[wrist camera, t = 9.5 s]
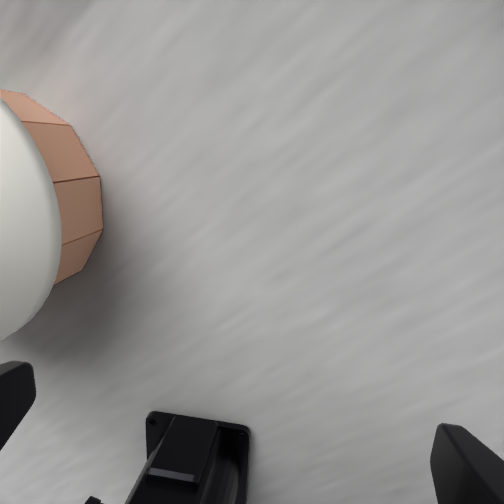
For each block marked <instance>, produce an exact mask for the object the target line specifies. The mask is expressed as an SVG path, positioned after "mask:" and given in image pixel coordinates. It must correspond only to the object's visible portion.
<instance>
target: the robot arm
mask: <svg viewBox="0 0 504 504" xmlns="http://www.w3.org/2000/svg"><path fill="white" fill-rule="evenodd" d="M35 398H36V387H35V379H34V371H33V367H32V365H31V364H30V363H27V362H21V361H10V362H7V363H4V364H0V451H1V449H2V448H3V446H4V445H5V443H6V442H7V441H8V439H9V438H10V436H11V435H12V433H13V432H14V431H15V429H16V428H17V426H18V425H19V423H20V422H21V421H22V419H23V418H24V416H25V415H26V413H27V412H28V411H29V409H30V408H31V406H32V405H33V403H34V401H35ZM153 419H155V420H156V421H154V420H153ZM239 433H242V434H244V435H240V434H239ZM146 446H147V462H146V464H145V466H144V468H143V470H142V472H141V474H140V475H139V477H138V479H137V481H136V483H135V485H134V487H133V489H132V490H131V492H130V494H129V496H128V498H127V500H126V502H125V504H247V486H248V469H249V451H250V430H249V428H248V427H247V426H244V425H240V424H233V423H227V422H221V421H214V420H208V419H202V418H195V417H189V416H183V415H176V414H170V413H163V412H157V411H152V412H150V413H149V415H148V416H147V418H146ZM430 465H431V472H432V477H433V481H434V486H435V491H436V496H437V501H438V504H504V460H502V459H501V458H500V457H499V456H498V455H496V454H495V453H494V452H493V451H491V450H490V449H489V448H488V447H487V446H485V445H484V444H483V443H482V442H481V441H479V440H478V439H477V438H476V437H475V436H473V435H472V434H471V433H470V432H469V431H467V430H466V429H465V428H463V427H462V426H459V425H453V424H446V423H441V424H439V425H438V427H437V430H436V434H435V438H434V443H433V447H432V452H431V457H430ZM85 504H103V503H101V500H99V499H97V498H95V497H92V496H90V497H89V499H88V500H87V501H86V502H85Z"/></svg>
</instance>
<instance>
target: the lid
mask: <svg viewBox="0 0 504 504" xmlns="http://www.w3.org/2000/svg"><path fill="white" fill-rule="evenodd" d="M61 245H62V235H61V219H60V212H59V206H58V201H57V197H56V193H55V190H54V186H53V182H52V179H51V177H50V174H49V172H48V169H47V167H46V164H45V162H44V159H43V157H42V155H41V154H40V152H39V150H38V148H37V146H36V144H35V142H34V140H33V138H32V137H31V135H30V134H29V132H28V131H27V129H26V128H25V126H24V125H23V123H22V122H21V120H20V119H19V118H18V117H17V115H16V114H15V113H14V112H13V111H12V109H11V108H10V107H9V106H8V105H7V103H6V102H5V101H4V100H3V99H2V98H1V97H0V341H1V340H3V339H4V338H6V337H8V336H9V335H11V334H12V333H14V332H16V331H17V330H19V329H20V328H22V327H23V326H24V325H25V324H26V323H28V322H29V321H30V320H31V319H32V318H33V317H34V316H35V315H36V313H37V312H38V311H39V310H40V309H41V308H42V306H43V304H44V303H45V301H46V299H47V298H48V296H49V294H50V292H51V289H52V287H53V284H54V282H55V279H56V276H57V272H58V267H59V263H60V255H61Z"/></svg>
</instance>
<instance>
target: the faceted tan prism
mask: <svg viewBox="0 0 504 504" xmlns="http://www.w3.org/2000/svg"><path fill="white" fill-rule="evenodd" d="M0 97H1V98H2V99H3V100H4V101H5V102H6V103H7V105H8V106H9V107H10V108H11V109H12V111H13V112H14V113H15V114H16V115H17V117H18V118H19V119H20V120H21V122H22V123H23V125H24V126H25V128H26V129H27V131H28V132H29V134H30V135H31V137H32V138H33V140H34V142H35V144H36V146H37V148H38V150H39V152H40V154H41V155H42V157H43V159H44V162H45V164H46V167H47V169H48V172H49V174H50V177H51V179H52V182H53V186H54V190H55V193H56V197H57V201H58V206H59V212H60V219H61V235H62V245H61V255H60V263H59V267H58V272H57V276H56V279H55V282H54V284H53V285H55V284H57V283H58V282H60V281H62V280H64V279H66V278H68V277H70V276H72V275H73V274H75V273H77V272H79V271H81V270H82V269H83V268H84V266H85V264H86V262H87V260H88V258H89V256H90V254H91V252H92V250H93V248H94V246H95V244H96V242H97V240H98V239H99V237H100V235H101V233H102V231H103V230H102V229H103V218H102V203H101V187H100V177H97V176H99V174H98V172H97V170H96V169H95V167H94V165H93V163H92V162H91V160H90V158H89V156H88V155H87V153H86V151H85V149H84V148H83V146H82V144H81V142H80V141H79V139H78V137H77V135H76V134H75V132H74V130H73V129H72V127H71V126H70V124H68V123H67V122H65V121H64V120H62V119H61V118H59V117H58V116H56V115H55V114H53V113H52V112H50V111H49V110H47V109H46V108H44V107H43V106H41V105H40V104H38V103H37V102H35V101H34V100H32V99H31V98H29V97H28V96H26V95H25V94H22V93H16V92H11V91H5V90H0Z"/></svg>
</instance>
